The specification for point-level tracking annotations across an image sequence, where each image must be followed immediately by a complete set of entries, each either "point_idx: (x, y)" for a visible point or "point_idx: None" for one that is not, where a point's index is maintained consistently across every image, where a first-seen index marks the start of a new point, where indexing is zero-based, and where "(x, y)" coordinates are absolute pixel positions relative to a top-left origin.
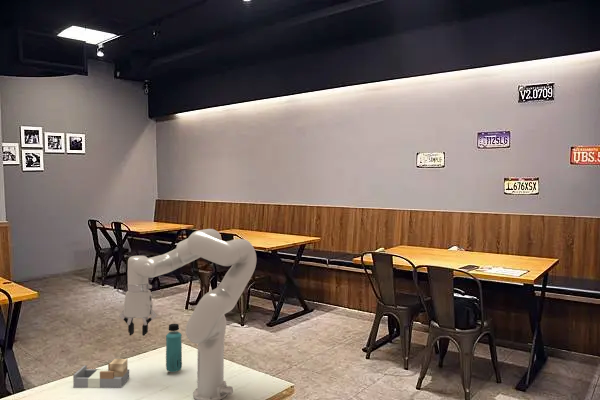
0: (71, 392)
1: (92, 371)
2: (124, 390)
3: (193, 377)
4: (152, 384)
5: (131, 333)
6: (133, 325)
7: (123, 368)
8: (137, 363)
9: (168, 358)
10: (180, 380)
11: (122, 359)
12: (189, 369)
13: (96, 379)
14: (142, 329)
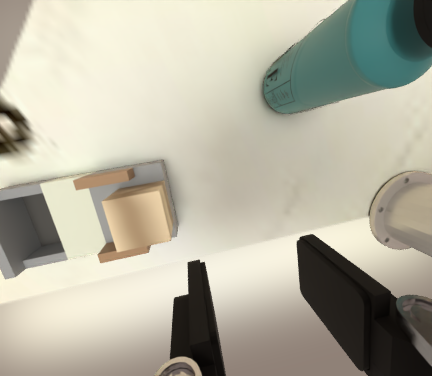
0: (58, 278)
1: (28, 194)
2: (196, 235)
3: (347, 119)
4: (252, 186)
5: (216, 323)
6: (217, 334)
7: (170, 225)
8: (113, 20)
9: (298, 104)
10: (317, 146)
11: (140, 200)
12: None
13: (98, 251)
14: (334, 335)
